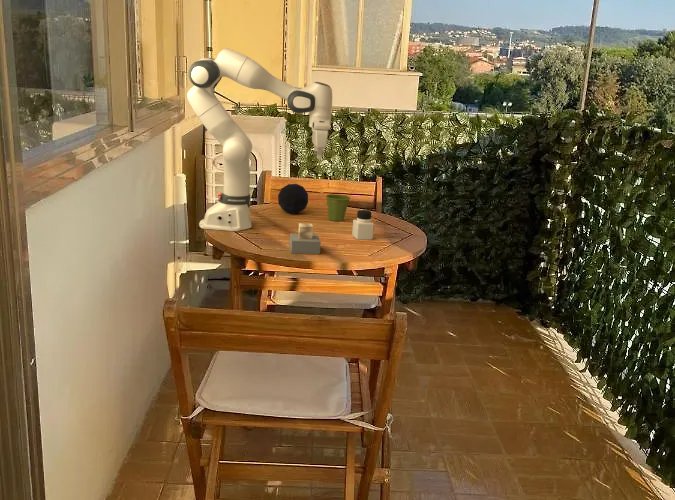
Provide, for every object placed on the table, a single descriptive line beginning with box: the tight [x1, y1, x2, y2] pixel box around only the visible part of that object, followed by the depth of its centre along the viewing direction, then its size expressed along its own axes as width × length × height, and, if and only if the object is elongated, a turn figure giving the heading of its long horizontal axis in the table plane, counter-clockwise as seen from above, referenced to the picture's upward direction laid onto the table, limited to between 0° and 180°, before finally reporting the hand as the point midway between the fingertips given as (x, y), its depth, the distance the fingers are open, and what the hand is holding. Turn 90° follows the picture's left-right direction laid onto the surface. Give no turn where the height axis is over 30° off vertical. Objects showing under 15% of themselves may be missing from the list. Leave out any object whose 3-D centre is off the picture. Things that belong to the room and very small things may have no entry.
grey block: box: [288, 232, 321, 255], centre depth 248 cm, size 11×11×5 cm
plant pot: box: [325, 193, 352, 222], centre depth 299 cm, size 12×12×11 cm
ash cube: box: [297, 222, 314, 239], centre depth 247 cm, size 5×5×5 cm
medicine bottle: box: [351, 209, 375, 241], centre depth 271 cm, size 7×7×12 cm
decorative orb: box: [277, 183, 309, 215], centre depth 306 cm, size 14×15×15 cm
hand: (317, 156), depth 264 cm, fingers open, 8 cm apart
